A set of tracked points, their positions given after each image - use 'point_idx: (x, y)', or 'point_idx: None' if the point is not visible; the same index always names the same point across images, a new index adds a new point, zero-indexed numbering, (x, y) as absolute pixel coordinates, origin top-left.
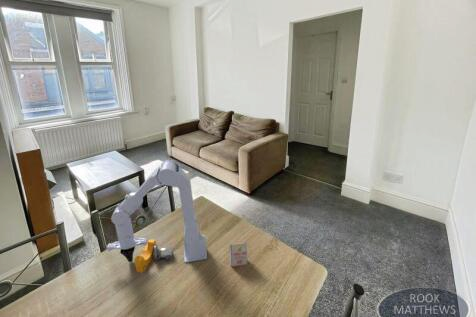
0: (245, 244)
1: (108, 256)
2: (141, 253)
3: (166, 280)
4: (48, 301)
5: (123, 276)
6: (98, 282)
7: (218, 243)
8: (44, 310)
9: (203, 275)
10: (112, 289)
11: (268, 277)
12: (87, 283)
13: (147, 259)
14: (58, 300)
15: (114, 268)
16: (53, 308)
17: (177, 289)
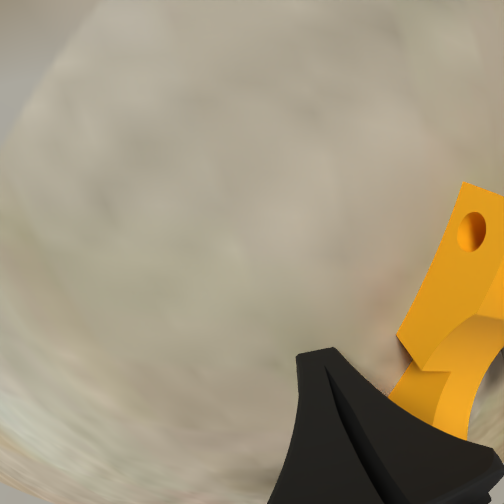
0: None
1: (13, 254)
2: (446, 338)
3: (488, 425)
4: (6, 473)
5: (279, 455)
6: (129, 470)
7: None
8: (30, 492)
9: None
10: (241, 497)
11: None
12: (71, 460)
13: (473, 394)
14: (33, 482)
15: (168, 406)
16: (49, 498)
17: (499, 439)
